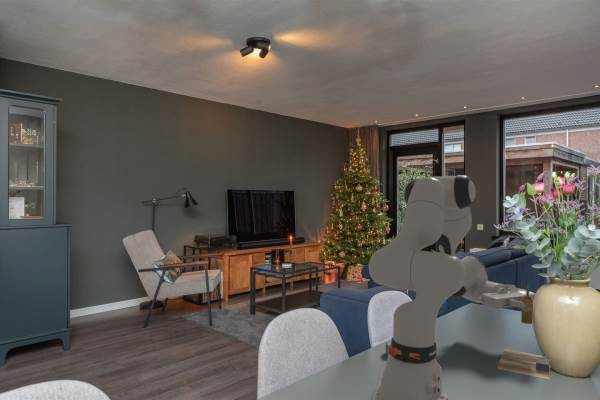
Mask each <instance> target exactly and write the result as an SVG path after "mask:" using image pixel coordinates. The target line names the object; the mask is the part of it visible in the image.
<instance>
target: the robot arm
mask: <svg viewBox="0 0 600 400" xmlns="http://www.w3.org/2000/svg"><path fill="white" fill-rule="evenodd" d="M404 198H405V199H404V201H405V203H406V207H405V213H404V217H403V220H402V224H401V227H400V229H399V231H398V232H397V234H396V236H395V237H394V238H393V239H392V240H391V241H390V242H389V243H387V244H386V245H384V246H383V247H381V248H379V249H377V250H376V251H375V252H374V253H373V254H371V255H372V256H371V258H370V259H369V263H368V272H369V275H370V278H371V279H372V281H373V282H374V283H375V284H378V285H380V286H384V287H387V288H391V289H397V290H406V291H413V292H415V298H414V299H413V300H410V301H409V300H408V301H407V302H404V303H402V304H400V305H399V306H397V308H396V309H395V310H394V313H393V319H392V320H393V323H392V325H393V326H392V327H393V329H392V330H393V331H392V333H393V334H392V337H391V340H390V342H391V345H390V347H389V350H388V353H389V355H388V356H387V360H386V364H385V366H384V370H383V373H382V376H381V379H379V381H378V384H377V386H376V389H375V391H374V393H373V395H372V396H373V397H372V398H371V400H449V396H448V395H447V394H446V393H444V392H443V371H442V366H441V365H440V364H439V363H438V361H437V359H436V358H437V351H438V348H437V342H436V326H437V318H438V314H439V311H440V309H441V307H442V306H443V304H444V303H445V302H446V300H447V299H449V298H452V299H461V298H464V299H466V300H469V301H470V302H475V303H481V304H482V305H484V306H486V307H488V308H490V309H494V310H499V309H507V308H519V309H522V308H526V303H525V302H522V297H524V295H526V291H527V289H523V288H519V287H516V285H515V284H514V285H513V284H505V283H504V284H503V283H498V282H494V281H490V280H489V274H488V271H487V267H486V265H485V263H484V261H482V260H481V259H480V258H478V257H476V256H473V255H465V256H464V257H462V259H460V258H459V257H458V256H455V254H456V252H457V248H458V247H459V245H460V243H461V242H462V241H463V239H465V237H466V236H467V234H468V233H469V231H470V230H471V228H472V223H473V219H472V212H471V209H470V206H472V205H473V203H474V202H475V198H476V187H475V184H474V181H473V179H472V178H470V177H469V176H468V175H463V174H462V175H461V174H460V175H459V174H457V175H444V176H443V175H442V176H438V175H437V176H436V175H435V176H430V177H427V176H425V177H422V178H418V179H414V180H410V181H409V182H408V183H407V185H406V186H405V188H404ZM434 244H435V251H427V250H423V249H424V248H426V247H427V248H428V247H429V246H431V245H434ZM535 294H536V292H532V291H530V290H529V296H531V298H532V299H533V297H534V295H535ZM533 302H534V301H533Z"/></svg>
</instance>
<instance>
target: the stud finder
mask: <svg viewBox="0 0 600 400" xmlns="http://www.w3.org/2000/svg"><path fill="white" fill-rule="evenodd" d="M540 356H541V357H538V356H537V359H536V370H541V371H545V372H549V361H550V360H548V359H547V358H545V357H546V356H545V357H542V356H543V355H540Z"/></svg>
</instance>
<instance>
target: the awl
mask: <svg viewBox="0 0 600 400" xmlns="http://www.w3.org/2000/svg"><path fill="white" fill-rule="evenodd" d="M526 290H527V291H526V295H524V297H522V302H525V303H526V308H521V314H520V315H521V317H520V319H521V320H520V322H521V323H522V324H527V325H533V314H534V313H533V312H534V310H533V309H534V307H533V304H532V302H533V299H532V298H531V296H529V291H530V286H529V285H527V286H526Z"/></svg>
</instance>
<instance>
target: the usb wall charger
mask: <svg viewBox="0 0 600 400" xmlns="http://www.w3.org/2000/svg"><path fill="white" fill-rule="evenodd" d="M390 345H391V341H385V354H386V356H387V357H388V355H389V353H388V350H389V347H390Z"/></svg>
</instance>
